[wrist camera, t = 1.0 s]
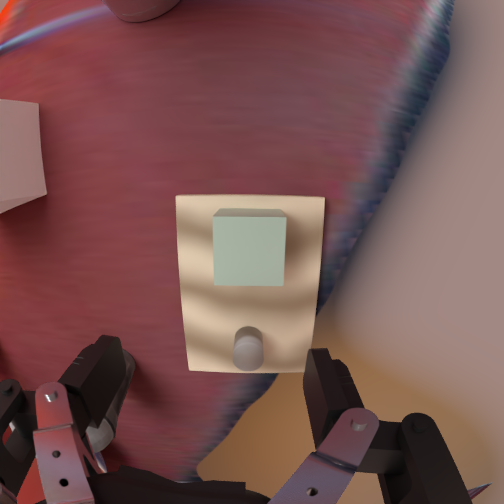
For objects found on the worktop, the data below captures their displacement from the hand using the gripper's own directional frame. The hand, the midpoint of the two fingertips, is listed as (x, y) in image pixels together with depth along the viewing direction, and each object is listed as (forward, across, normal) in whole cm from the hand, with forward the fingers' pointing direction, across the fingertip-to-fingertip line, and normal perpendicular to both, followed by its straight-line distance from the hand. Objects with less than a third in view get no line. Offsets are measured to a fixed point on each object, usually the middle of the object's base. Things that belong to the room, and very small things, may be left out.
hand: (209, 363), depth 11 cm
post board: (+19, -2, +5) cm, 19 cm away
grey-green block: (+17, -2, -1) cm, 17 cm away
